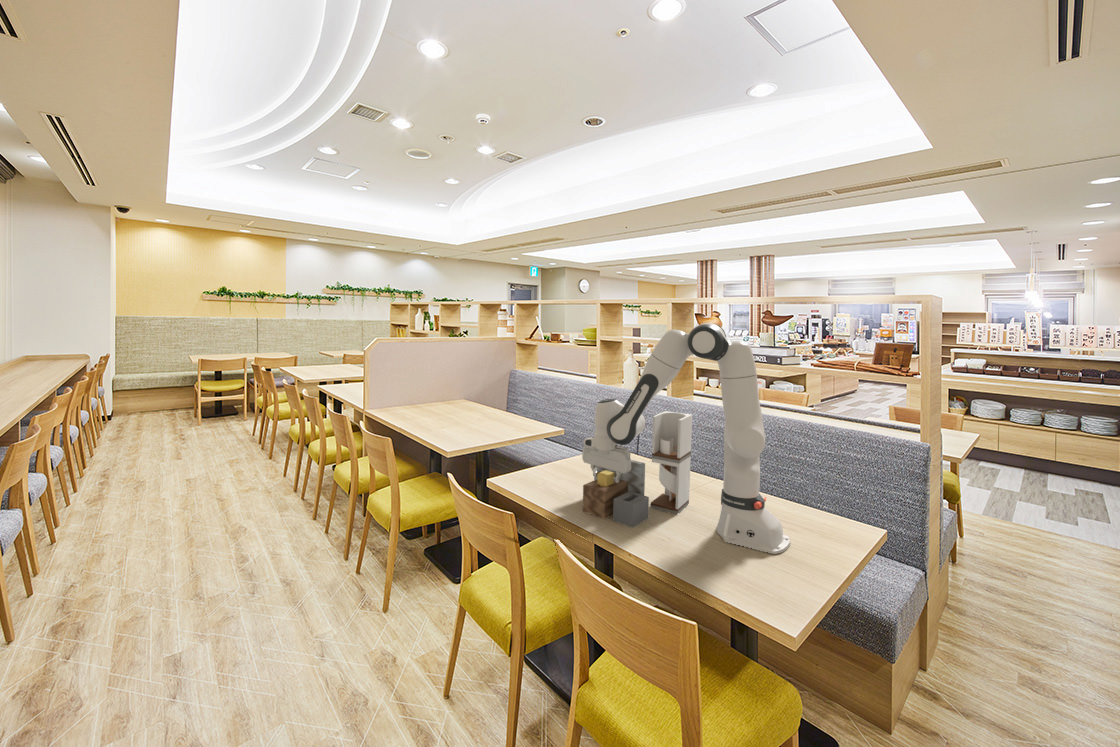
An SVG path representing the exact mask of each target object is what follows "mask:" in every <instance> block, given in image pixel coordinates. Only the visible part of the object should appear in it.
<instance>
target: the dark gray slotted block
mask: <svg viewBox="0 0 1120 747" xmlns="http://www.w3.org/2000/svg"><path fill="white" fill-rule="evenodd" d="M649 499H650V497H649V496H647V495H645V494H644V495H641V494H637V493H634V492H631V491H629V492H627V493H625V494H623V495H621V496H619V497H617V498H615V499H614V502H613V515H612V522H615V523H617V524H621V525H623V526H626V527H629V528H631V529H632V528H634V527H636V526H639V525H640V524H641V523H643V522H645V521H647V520H648V519H649V505H650V503H649V502H650V500H649Z"/></svg>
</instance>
